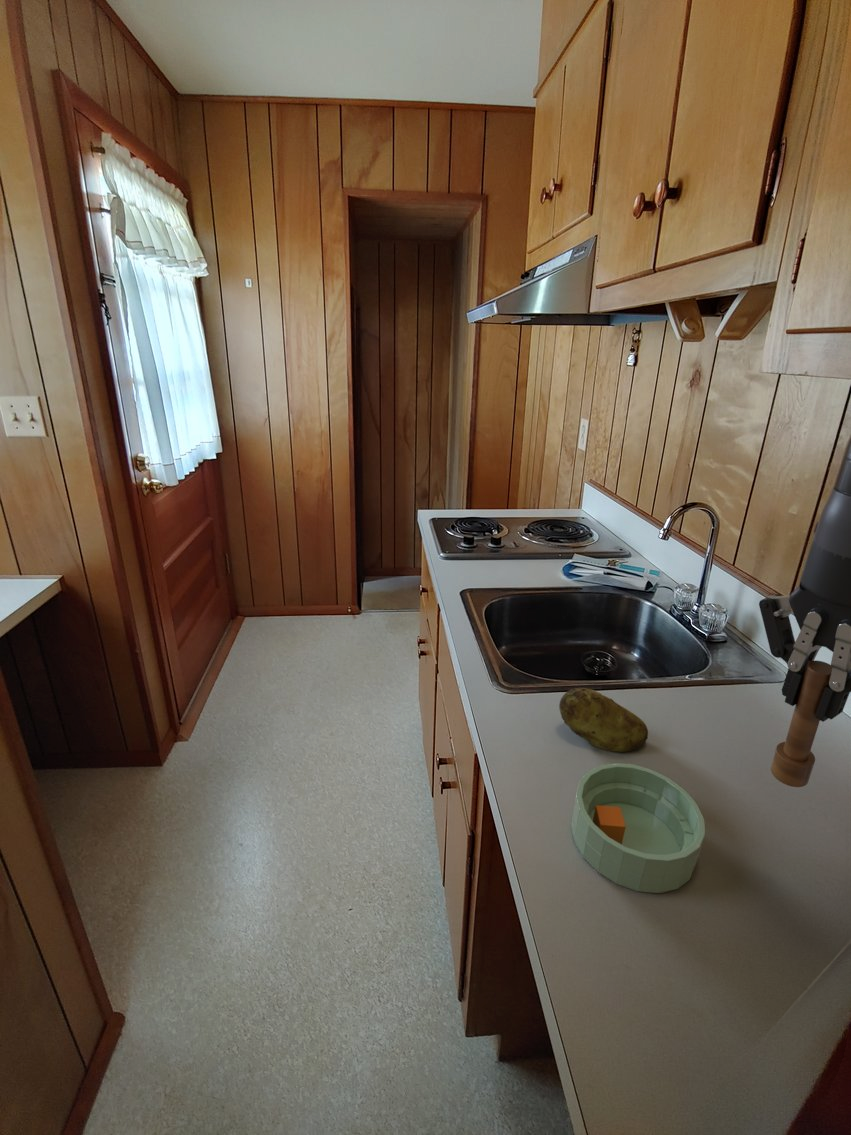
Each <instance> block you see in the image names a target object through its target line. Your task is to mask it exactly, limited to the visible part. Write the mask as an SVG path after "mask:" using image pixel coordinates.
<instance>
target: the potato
mask: <svg viewBox="0 0 851 1135" xmlns="http://www.w3.org/2000/svg"><path fill="white" fill-rule="evenodd" d="M558 707H559V712H560V716H561V719H562V721H563V723H564V724H565V725H566V726H568V728H569V729H570V730H571V731H572V732H573V733H574V734H576V735H577V736H579V737H581V738H584V740H586V741H587V742H588V743H589V744H590V745H591V746H593V747H595V748H598V749H600V750H603V751H609V752H617V753H622V752H623V753H624V752H630V751H634V750H637V749H640V748H642V747H643V746H644V745H645V744H646V742H647V740H648V736H649V730H648V726H647V725H646V723H645V722H644V720H642V719H641V717H639V716H638V715H636V714H634V713H633V712H631V710H628V708H626V707H624V706H622V705H621V704H619V703H617V702H616V701H614V699H612V698H610V697H608V696H606V695H604V694H601V693H600V692H598V691H596V690H595V689H591V688H588V687H587V688H586V687H572V688H570V689H569V690H568V691H566V692H565V693H564V694H563V695H562V696H561V698H560V701H559V704H558Z"/></svg>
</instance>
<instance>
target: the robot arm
mask: <svg viewBox="0 0 851 1135" xmlns="http://www.w3.org/2000/svg"><path fill="white" fill-rule="evenodd" d="M804 563H805V564H804V566H803V570H802V573H801V576H800V581H799V585H798V586H797V587H796V589H795V590H793V591H792V592H791V593H790V594H788V595H782V594H780V593H775V594H771V595H768V596H767V597H764V598H763V599H760V600H759V602H758V606H759V610H760V615H761V618H762V622H763V623H762V624H763V626H764V630H765V634H766V639H767V643H768V646H769V651H770V653H771V655H772V656H773V657H774V658H778V659H779V658H780V659H781V660H782V661H784V662H785V663H786V666H787V673H786V675H785V678H784V681H783V685H782V687H781V694H782V696H784V697H785V699H784V703H786V704H787V705H790V706H791V707H795V706H796V702H797V699H798V695H799V692H800V688H801V685H802V681H803V678H804V674H805V671H806V667H807V664H808V663H809V662H810V661H815V659H816V657H817V655H818V653H819V651H820V650H821V648H822V647H823V648H826V649H827V650H829V651H830V652H832V655H831V661H830V665H831V666H832V671H831V676H830V681H829V685H828V686H826V687H825V690H824V692H823V695H822V698H821V701H820V703H819V706H818V709H817V712H816V714H815V718H817V719H819V720H820V722H823V723H824V722H826V721H827V720H828V719H829V720H834V718H836V717H837V716H839V715H840V714H842V713H843V711H844V709H845V706H846V703H847V702H848V698H849V695H850V693H851V434H850V435H849V438H848V440H847V442H846V445H845V448H844V450H843V453H842V457H841V460H840V463H839V467H838V469H837V473H836V476H835V480H834V481H833V486H832V488H831V491H830V493H829V496H828V498H827V500H826V502H825V504H824V505H823V507H822V510H821V513H820V514H819V518H818V521H817V522H816V524H815V526H814V530H813V538H812V541H811V544H810V547H809V551H808V553H807V556H806V560H805V562H804ZM792 613H793V615H794V618H795V620H796V623H797V626H798V628H799V630H800V631H799V633H798V635H797V638H796V640H795V636H794V631H793V628H792V623H791V619H790V615H791V614H792Z"/></svg>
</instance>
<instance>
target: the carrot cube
mask: <svg viewBox="0 0 851 1135" xmlns="http://www.w3.org/2000/svg"><path fill="white" fill-rule="evenodd" d="M593 823H594V824H595V825H596V826H597V827H598V828H599V829H600V830H601V831H603V832H604V833H605V834H606V835H607V836H608V837H609V838H611V839H613V840H615V841H616V842H618V843H620V844H621V845H622V841H623V837H624V833H625V828H626V826H625V822H624V819H623V815H622V812H621V809H620V807H611V806H600V805H596V807H595V812H594V817H593Z"/></svg>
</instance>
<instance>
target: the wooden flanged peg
mask: <svg viewBox="0 0 851 1135" xmlns="http://www.w3.org/2000/svg"><path fill="white" fill-rule="evenodd" d="M831 671H832V666H831V663H828V662H825V661H823V660H814V661H810V662H809V663H808V664H807V667H806V671H805V674H804V678H803V681H802V685H801V688H800V692H799V695H798V699H797V702H796V705H794V710H793V713H792V716H791V720H790V723H789V727H788V730H787V734H786V738H785V741H781V742H780V743H778V744H777V745H776V747H775V751H774V754H773V758H772V763H771V766H770V772H771V774H772V776H773V777H774V778H775V779H776V780H777V781H778V782H780V783H782V784H784V785H786V786H788V787H794V788H803V787H805V786H806V785H808V784H809V781H810V778H811V774H812V771H813V769H814V766H815V762H816V756H815V754H814V753H813V752H812V751H811V750H812V747H813V745H814V740H815V738H816V737H815V736H816V734H817V731H818V729H819V725H820V722H821V720H819V719H817V718H815V714H816V712H817V709H818V706H819V703H820V701H821V698H822V695H823V692H824V690H825V687H826V686H828V685H829V681H830V676H831Z"/></svg>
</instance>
